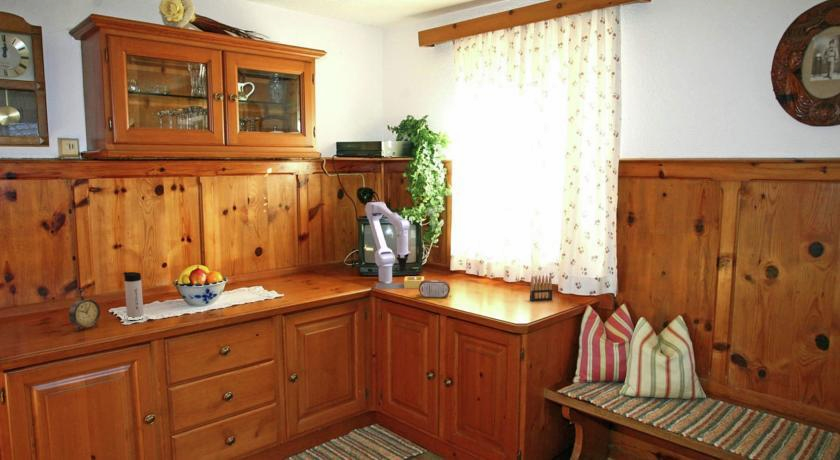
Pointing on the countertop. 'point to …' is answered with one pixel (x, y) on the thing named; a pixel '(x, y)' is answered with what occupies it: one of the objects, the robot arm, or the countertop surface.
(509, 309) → the countertop surface
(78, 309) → the alarm clock
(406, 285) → the link
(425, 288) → the tin
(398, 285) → the keeper board
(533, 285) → the ammunition clip
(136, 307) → the travel mug
